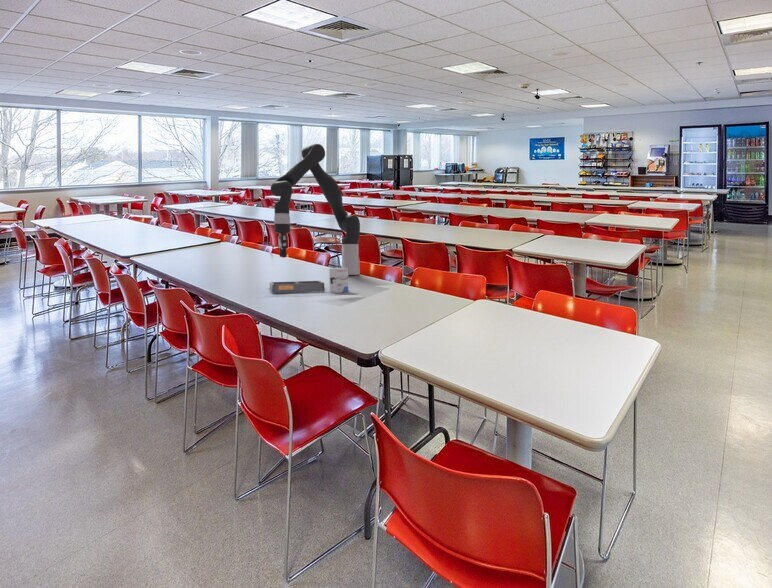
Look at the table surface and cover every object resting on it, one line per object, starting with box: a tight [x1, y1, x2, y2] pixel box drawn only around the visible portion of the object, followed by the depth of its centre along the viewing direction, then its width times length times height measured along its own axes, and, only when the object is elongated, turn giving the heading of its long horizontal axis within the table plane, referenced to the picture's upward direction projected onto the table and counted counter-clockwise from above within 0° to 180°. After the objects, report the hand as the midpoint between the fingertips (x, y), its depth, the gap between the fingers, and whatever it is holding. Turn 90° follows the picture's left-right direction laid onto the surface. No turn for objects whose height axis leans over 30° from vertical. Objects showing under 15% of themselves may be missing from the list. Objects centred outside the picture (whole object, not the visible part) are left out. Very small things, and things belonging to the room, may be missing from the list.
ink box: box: [329, 267, 349, 294], centre depth 234 cm, size 8×5×12 cm, turn 140°
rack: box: [269, 280, 325, 295], centre depth 238 cm, size 25×14×4 cm, turn 109°
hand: (283, 257), depth 235 cm, fingers open, 7 cm apart
